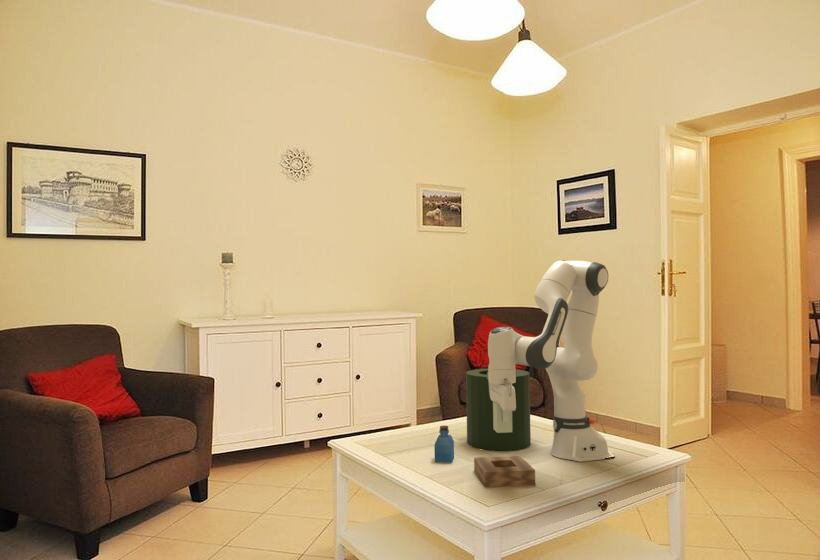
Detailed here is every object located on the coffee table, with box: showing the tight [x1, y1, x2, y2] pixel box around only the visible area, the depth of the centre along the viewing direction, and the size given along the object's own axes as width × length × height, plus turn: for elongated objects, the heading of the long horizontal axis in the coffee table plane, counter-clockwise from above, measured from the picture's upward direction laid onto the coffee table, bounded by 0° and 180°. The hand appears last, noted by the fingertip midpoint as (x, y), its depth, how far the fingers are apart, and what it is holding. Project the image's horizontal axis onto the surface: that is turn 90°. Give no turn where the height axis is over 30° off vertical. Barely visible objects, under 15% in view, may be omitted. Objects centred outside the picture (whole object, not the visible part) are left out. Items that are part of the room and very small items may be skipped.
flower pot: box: [465, 368, 532, 453], centre depth 228 cm, size 25×25×28 cm
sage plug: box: [493, 402, 512, 433], centre depth 185 cm, size 5×5×9 cm
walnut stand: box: [473, 455, 536, 488], centre depth 185 cm, size 16×16×4 cm
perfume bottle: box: [434, 425, 455, 464], centre depth 205 cm, size 6×6×12 cm
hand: (502, 419), depth 185 cm, fingers closed on sage plug, 5 cm apart
